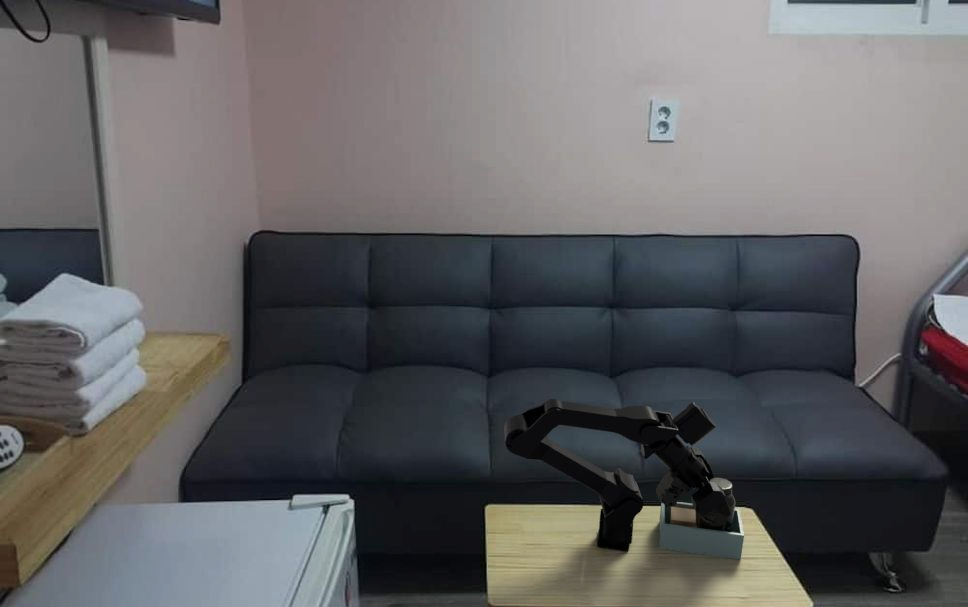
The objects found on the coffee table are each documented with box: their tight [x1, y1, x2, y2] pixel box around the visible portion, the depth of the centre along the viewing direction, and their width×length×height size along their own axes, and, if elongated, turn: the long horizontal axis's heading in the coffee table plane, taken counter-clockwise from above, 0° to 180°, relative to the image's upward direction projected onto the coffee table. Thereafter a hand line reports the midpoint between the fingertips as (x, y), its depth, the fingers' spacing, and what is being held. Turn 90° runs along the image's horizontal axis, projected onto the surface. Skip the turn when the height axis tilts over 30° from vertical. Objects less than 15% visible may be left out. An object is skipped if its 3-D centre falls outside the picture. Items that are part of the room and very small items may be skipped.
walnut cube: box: [669, 507, 696, 528], centre depth 171 cm, size 5×5×5 cm
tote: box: [658, 501, 745, 560], centre depth 170 cm, size 16×10×6 cm, turn 79°
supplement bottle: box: [697, 477, 736, 532], centre depth 168 cm, size 7×7×12 cm
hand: (723, 505), depth 168 cm, fingers closed on supplement bottle, 7 cm apart
